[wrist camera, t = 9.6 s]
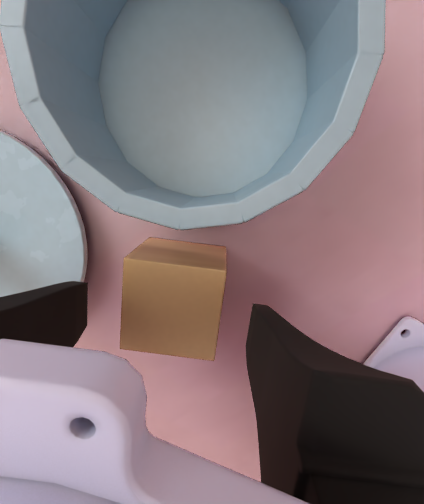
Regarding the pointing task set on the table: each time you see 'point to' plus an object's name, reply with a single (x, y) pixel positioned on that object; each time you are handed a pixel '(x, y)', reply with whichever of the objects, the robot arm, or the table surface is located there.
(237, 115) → the tin
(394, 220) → the table surface
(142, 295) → the block
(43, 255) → the lid
